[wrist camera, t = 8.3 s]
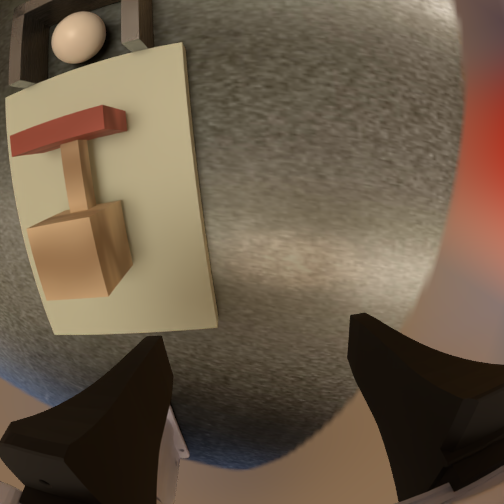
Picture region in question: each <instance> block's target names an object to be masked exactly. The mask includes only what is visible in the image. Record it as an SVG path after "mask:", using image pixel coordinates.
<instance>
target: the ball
mask: <svg viewBox="0 0 504 504" xmlns="http://www.w3.org/2000/svg"><path fill="white" fill-rule="evenodd" d="M105 38H106V27H105V24H104V22H103V20H102V19H101V18H100V17H99V16H98V15H96V14H94V13H92V12H86V11H81V12H76V13H73V14H71V15H69V16H67V17H66V18H64V19H63V20H62V21H61V22H60V23H59V24H58V25H57V27H56V28H55V30H54V32H53V35H52V42H51V44H52V49H53V52H54V54H55V55H56V57H57V58H58V59H60V60H61V61H63V62H66V63H70V64H77V63H82V62H85V61H87V60H89V59H91V58H92V57H93V56H95V55H96V54H97V53H98V52H99V50H100V49H101V48H102V46H103V44H104V41H105Z"/></svg>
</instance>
